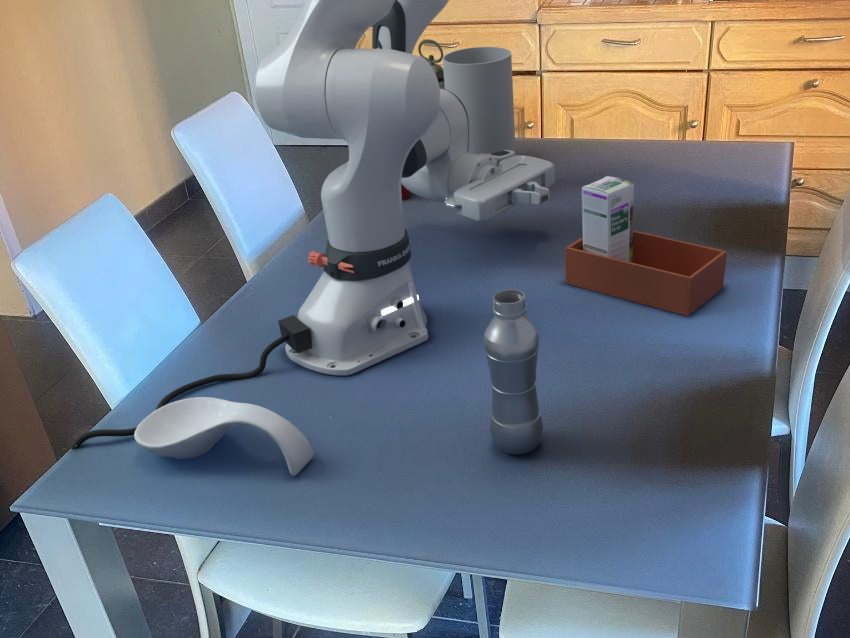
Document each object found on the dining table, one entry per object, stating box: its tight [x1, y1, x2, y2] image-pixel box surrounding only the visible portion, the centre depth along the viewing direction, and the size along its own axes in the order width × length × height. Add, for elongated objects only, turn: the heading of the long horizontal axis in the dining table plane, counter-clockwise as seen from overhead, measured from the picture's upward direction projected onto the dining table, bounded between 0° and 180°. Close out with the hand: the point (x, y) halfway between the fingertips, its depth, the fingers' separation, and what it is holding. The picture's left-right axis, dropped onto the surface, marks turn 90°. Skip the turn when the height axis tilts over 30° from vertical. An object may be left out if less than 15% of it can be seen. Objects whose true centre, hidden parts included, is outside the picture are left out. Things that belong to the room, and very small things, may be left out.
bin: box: [564, 229, 728, 317], centre depth 145 cm, size 22×11×6 cm, turn 51°
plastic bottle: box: [483, 288, 544, 455], centre depth 109 cm, size 6×7×20 cm
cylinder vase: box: [441, 46, 517, 156], centre depth 176 cm, size 12×12×25 cm
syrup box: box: [581, 175, 635, 262], centre depth 146 cm, size 6×6×14 cm
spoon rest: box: [133, 396, 314, 477], centre depth 117 cm, size 24×12×7 cm, turn 68°
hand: (544, 197), depth 150 cm, fingers closed
